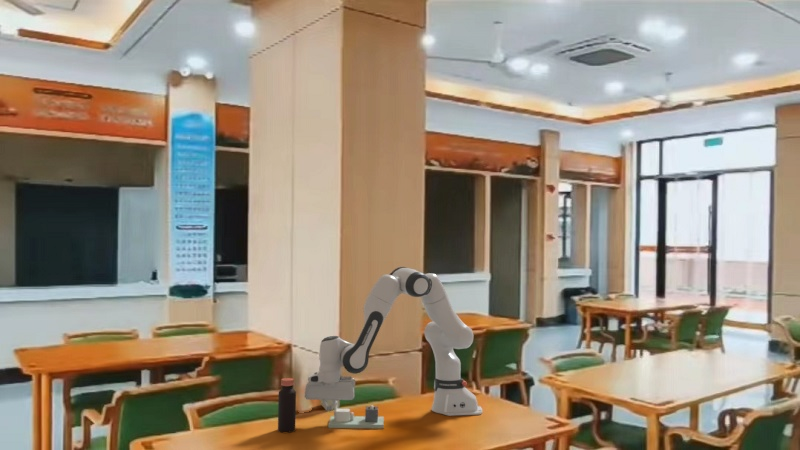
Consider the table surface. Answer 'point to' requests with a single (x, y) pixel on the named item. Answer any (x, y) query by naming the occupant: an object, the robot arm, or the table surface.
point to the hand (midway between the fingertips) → (329, 410)
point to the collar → (371, 414)
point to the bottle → (287, 406)
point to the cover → (341, 414)
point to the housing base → (357, 422)
